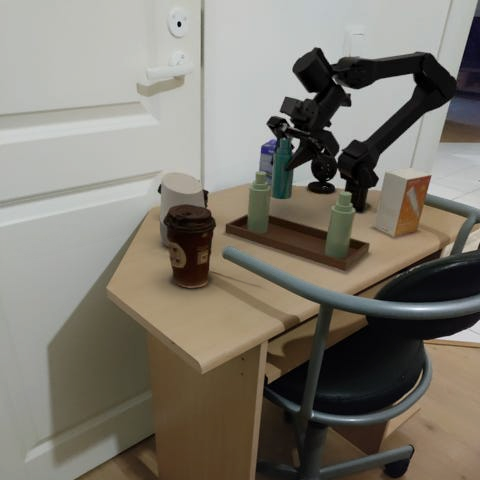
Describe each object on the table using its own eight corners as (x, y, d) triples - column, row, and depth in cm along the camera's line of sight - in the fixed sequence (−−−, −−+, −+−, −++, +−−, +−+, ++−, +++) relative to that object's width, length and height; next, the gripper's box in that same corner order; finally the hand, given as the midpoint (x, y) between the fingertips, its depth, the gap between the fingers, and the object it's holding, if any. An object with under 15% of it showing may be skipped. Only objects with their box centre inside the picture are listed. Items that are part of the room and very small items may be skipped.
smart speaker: (189, 259, 93) (188, 188, 86) (151, 248, 97) (146, 178, 89) (215, 242, 101) (216, 175, 93) (178, 232, 104) (176, 167, 96)
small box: (394, 238, 106) (407, 179, 99) (372, 228, 111) (384, 171, 104) (418, 231, 110) (432, 174, 103) (396, 222, 115) (409, 166, 108)
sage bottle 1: (253, 224, 109) (256, 168, 102) (271, 228, 107) (276, 172, 100) (243, 230, 105) (245, 173, 98) (261, 235, 103) (265, 177, 97)
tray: (254, 219, 112) (254, 210, 111) (367, 253, 99) (370, 243, 98) (225, 234, 105) (225, 224, 103) (344, 273, 91) (346, 262, 90)
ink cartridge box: (276, 196, 127) (280, 138, 119) (256, 192, 128) (259, 136, 121) (287, 185, 135) (292, 131, 127) (268, 182, 136) (272, 128, 128)
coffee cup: (173, 295, 82) (170, 222, 75) (160, 273, 88) (156, 204, 81) (221, 286, 85) (222, 216, 78) (205, 266, 91) (205, 199, 84)
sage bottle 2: (329, 247, 100) (338, 187, 93) (350, 252, 98) (361, 192, 91) (320, 255, 96) (329, 194, 89) (342, 261, 94) (353, 199, 88)
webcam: (301, 189, 133) (305, 151, 127) (316, 183, 138) (320, 147, 132) (325, 196, 129) (331, 157, 123) (340, 189, 133) (345, 152, 128)
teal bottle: (271, 192, 111) (275, 135, 105) (291, 193, 111) (296, 136, 104) (270, 198, 108) (274, 140, 101) (291, 200, 107) (296, 141, 100)
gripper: (275, 75, 105) (233, 134, 105) (338, 87, 92) (289, 154, 93) (299, 111, 113) (259, 165, 114) (359, 127, 101) (314, 187, 101)
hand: (278, 167), depth 105 cm, fingers closed on teal bottle, 4 cm apart
